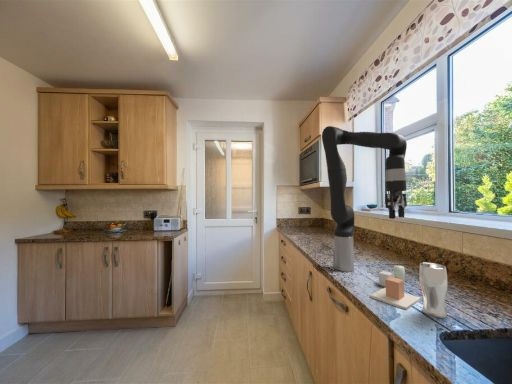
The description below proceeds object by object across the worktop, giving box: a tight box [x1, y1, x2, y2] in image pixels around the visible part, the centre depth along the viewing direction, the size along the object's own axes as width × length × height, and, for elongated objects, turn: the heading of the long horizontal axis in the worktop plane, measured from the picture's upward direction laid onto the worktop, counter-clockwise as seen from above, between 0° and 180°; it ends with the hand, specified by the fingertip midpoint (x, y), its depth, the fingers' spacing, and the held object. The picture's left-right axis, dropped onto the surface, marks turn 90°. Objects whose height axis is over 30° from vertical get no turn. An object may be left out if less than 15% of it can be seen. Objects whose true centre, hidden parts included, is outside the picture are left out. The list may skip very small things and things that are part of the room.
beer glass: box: [419, 262, 448, 319], centre depth 71 cm, size 7×7×15 cm
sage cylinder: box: [393, 265, 406, 283], centre depth 100 cm, size 4×4×6 cm
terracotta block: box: [385, 276, 405, 300], centre depth 82 cm, size 4×4×6 cm
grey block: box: [378, 270, 394, 287], centre depth 95 cm, size 4×4×5 cm
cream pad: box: [369, 286, 422, 311], centre depth 82 cm, size 12×12×1 cm
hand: (396, 217), depth 96 cm, fingers open, 8 cm apart
